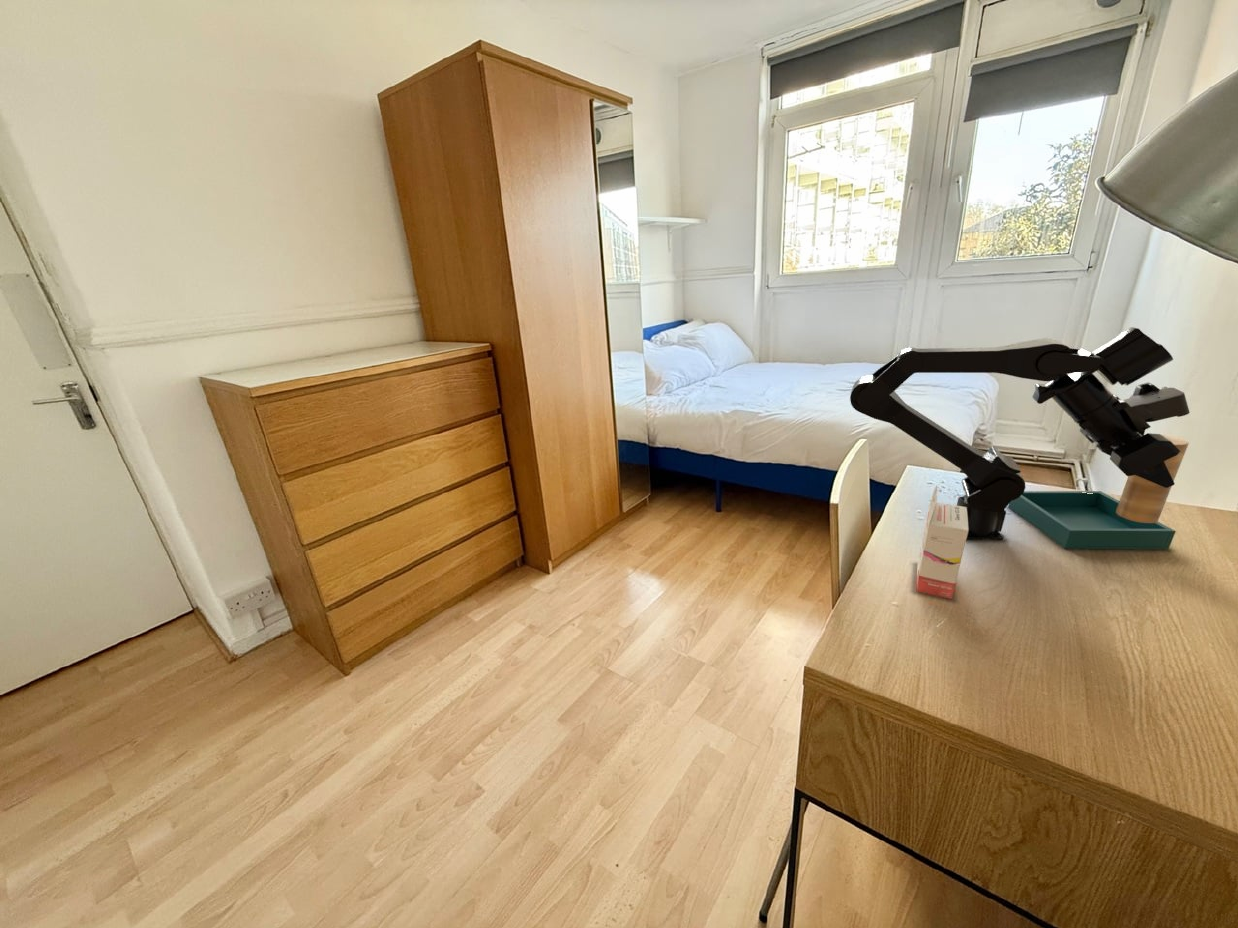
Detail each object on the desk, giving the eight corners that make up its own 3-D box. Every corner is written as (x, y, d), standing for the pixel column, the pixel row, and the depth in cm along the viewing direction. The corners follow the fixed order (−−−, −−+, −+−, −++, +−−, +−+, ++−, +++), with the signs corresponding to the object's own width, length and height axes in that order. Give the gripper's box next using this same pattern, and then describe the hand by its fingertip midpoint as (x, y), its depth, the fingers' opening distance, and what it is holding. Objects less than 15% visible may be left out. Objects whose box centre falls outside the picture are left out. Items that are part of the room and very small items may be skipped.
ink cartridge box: (954, 600, 73) (974, 512, 67) (915, 591, 75) (932, 505, 70) (952, 571, 79) (971, 488, 74) (917, 563, 82) (932, 482, 76)
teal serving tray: (1064, 548, 83) (1070, 530, 82) (1008, 507, 98) (1012, 491, 96) (1168, 549, 81) (1176, 531, 80) (1095, 507, 96) (1100, 490, 94)
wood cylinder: (1154, 526, 75) (1185, 447, 71) (1112, 515, 79) (1139, 439, 74) (1161, 516, 78) (1191, 439, 73) (1119, 506, 82) (1146, 432, 77)
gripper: (1184, 383, 64) (1271, 472, 63) (1127, 358, 79) (1197, 430, 79) (1087, 434, 71) (1166, 516, 70) (1052, 402, 86) (1116, 469, 85)
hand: (1162, 479), depth 76 cm, fingers closed on wood cylinder, 5 cm apart
